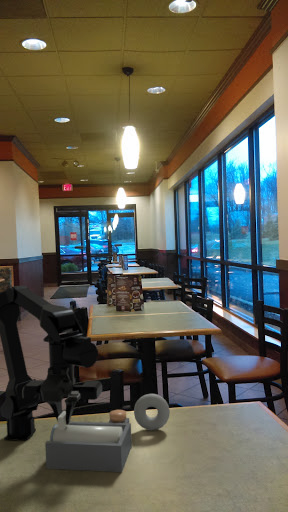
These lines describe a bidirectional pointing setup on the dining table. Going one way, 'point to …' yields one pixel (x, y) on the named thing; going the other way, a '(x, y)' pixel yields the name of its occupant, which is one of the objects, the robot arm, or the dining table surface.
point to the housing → (90, 451)
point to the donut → (148, 421)
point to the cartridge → (84, 432)
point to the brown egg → (117, 416)
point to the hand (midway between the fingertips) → (64, 424)
